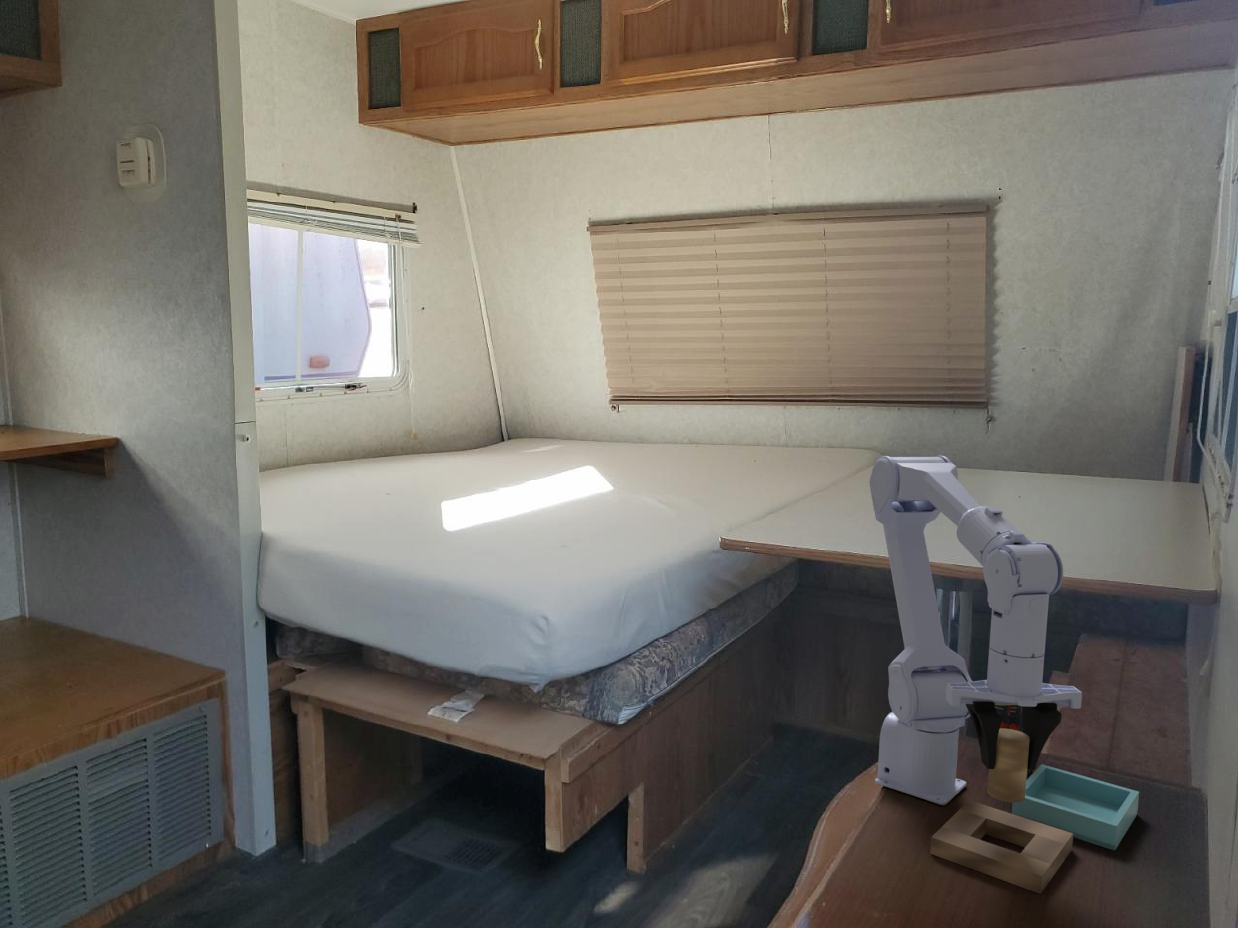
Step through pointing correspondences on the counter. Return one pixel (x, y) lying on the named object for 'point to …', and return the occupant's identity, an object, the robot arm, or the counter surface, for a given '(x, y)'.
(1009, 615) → the robot arm
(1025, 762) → the dowel
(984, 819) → the socket block
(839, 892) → the counter surface
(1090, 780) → the tray
